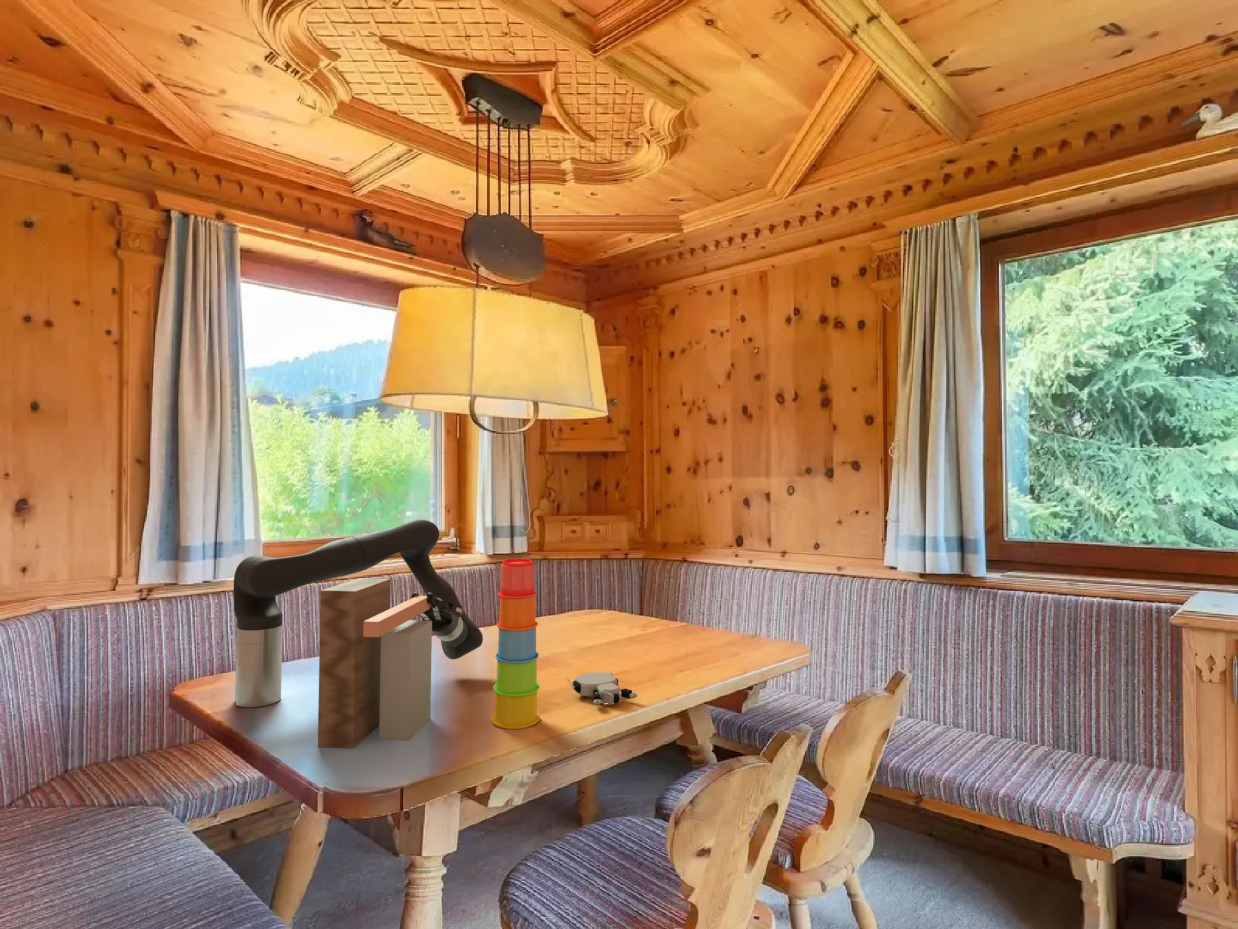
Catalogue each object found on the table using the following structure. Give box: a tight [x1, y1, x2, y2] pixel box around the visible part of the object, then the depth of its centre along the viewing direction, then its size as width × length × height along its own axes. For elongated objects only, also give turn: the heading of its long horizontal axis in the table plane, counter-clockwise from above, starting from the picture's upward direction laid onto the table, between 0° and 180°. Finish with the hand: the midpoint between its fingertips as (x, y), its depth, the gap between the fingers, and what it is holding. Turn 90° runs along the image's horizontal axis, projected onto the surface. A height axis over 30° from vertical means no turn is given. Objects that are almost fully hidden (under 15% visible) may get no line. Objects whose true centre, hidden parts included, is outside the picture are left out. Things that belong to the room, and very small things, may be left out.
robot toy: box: [566, 671, 638, 705], centre depth 160 cm, size 12×4×15 cm
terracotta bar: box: [363, 595, 430, 637], centre depth 136 cm, size 3×26×3 cm, turn 176°
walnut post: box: [317, 577, 391, 749], centre depth 137 cm, size 7×16×30 cm, turn 175°
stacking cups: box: [491, 557, 541, 730], centre depth 145 cm, size 10×10×35 cm
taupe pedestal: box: [378, 619, 433, 741], centre depth 140 cm, size 6×12×21 cm, turn 175°
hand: (421, 596), depth 147 cm, fingers closed on terracotta bar, 2 cm apart
